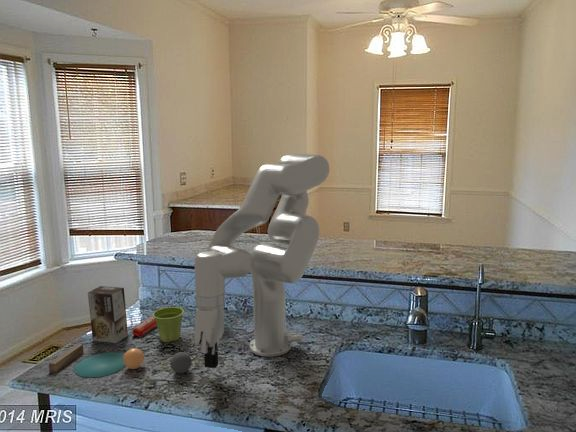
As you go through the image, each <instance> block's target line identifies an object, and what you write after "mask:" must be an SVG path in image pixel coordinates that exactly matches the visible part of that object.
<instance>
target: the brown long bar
mask: <svg viewBox="0 0 576 432" xmlns="http://www.w3.org/2000/svg"><path fill="white" fill-rule="evenodd" d="M83 353H84V344H83V343H75V344H74V345H73V346H72V347H70V348H69V349H67V350H65V351H64V352H62V353H61V354H59V356H57V357H56V358H54V359H53V360H51V361H49V362H48V371H49V373H57V372H58V371H60V370H61V369H63V368H64V367H65V366H67V365H68V364H69V363H71V362H72V361H73V360H75V359H77V358H78V357H79V356H80V355H82V354H83Z"/></svg>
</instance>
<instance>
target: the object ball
mask: <svg viewBox="0 0 576 432" xmlns="http://www.w3.org/2000/svg"><path fill="white" fill-rule="evenodd" d="M144 360H145V355H144V352H143V351H142V350H141V349H140V348H137V347H133V348H130V349H128V350H127V351H125V353H124V357H123V362H124V365H125V367H126V368H127V369H130V370H136V369H138V368H140V367H141V366H142V365H143V363H144Z"/></svg>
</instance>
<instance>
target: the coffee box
mask: <svg viewBox="0 0 576 432" xmlns="http://www.w3.org/2000/svg"><path fill="white" fill-rule="evenodd" d="M87 301H88V307H89V308H88V310H89V317H90V318H89V319H90V325H91V326H90V327H91V335H92V341H93V342H103V343H110V344H118V343H119V342H121V341H122V340H124V339H125V338H127V337H128V336H129V333H128V330H129V329H128V320H127V309H126V297H125V287H119V286H118V287H117V286H103V285H101V286H98V287H95V288H94V289H92V290H90V291H88V292H87Z"/></svg>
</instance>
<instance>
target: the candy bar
mask: <svg viewBox="0 0 576 432" xmlns="http://www.w3.org/2000/svg"><path fill="white" fill-rule="evenodd" d="M155 326H156V327H157V323H156V321H155V318H154V317H153V315H151V316H150V317H148V318H147V319H146V320H144V321H143V322H141V323H140V324H138V325H137V326H134V328H133V329H132V331H131V333H132V334H133V335H135V336H137V337H138V338H139V337H140V336H141V337H143V336H144V335H146V334H147V333H149V332H150V331H152V330H153V329H154V328H156V327H155ZM151 329H152V330H151ZM148 331H149V332H148ZM145 333H146V334H145ZM142 335H143V336H142ZM141 337H140V338H141Z"/></svg>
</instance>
